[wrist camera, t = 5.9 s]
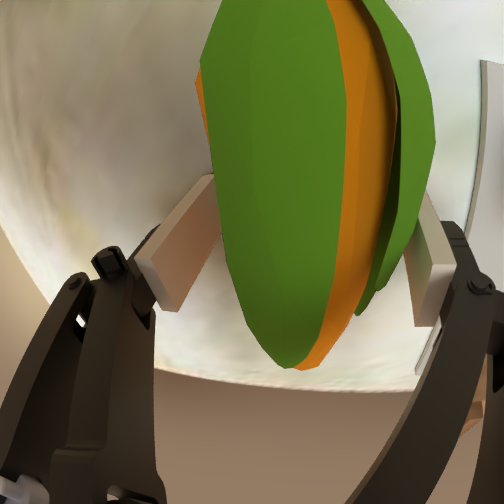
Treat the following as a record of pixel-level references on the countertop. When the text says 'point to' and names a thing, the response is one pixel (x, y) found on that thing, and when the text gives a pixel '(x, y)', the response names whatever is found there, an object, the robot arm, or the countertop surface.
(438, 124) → the countertop surface
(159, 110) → the countertop surface
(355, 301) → the corn
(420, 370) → the mat
